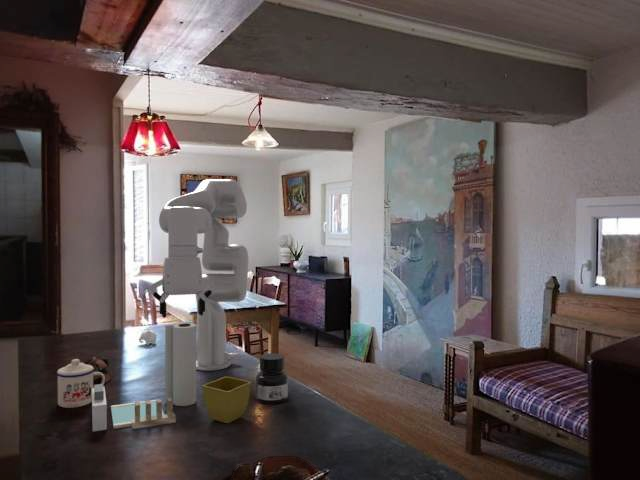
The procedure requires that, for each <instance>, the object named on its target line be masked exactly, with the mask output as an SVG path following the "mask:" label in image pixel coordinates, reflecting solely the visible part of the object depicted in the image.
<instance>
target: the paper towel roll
mask: <svg viewBox="0 0 640 480" xmlns="http://www.w3.org/2000/svg"><path fill="white" fill-rule="evenodd" d="M164 326H165V327H164V329H165V330H164V334H165V335H164V341H165V342H164V345H165V346H164V347H165V349H164V351H165V353H164V354H165V355H164V357H165V359H164V361H165V363H164V364H165V365H164V366H165V367H164V374H165V375H164V377H165V378H164V379H165V382H164V385H165V388H164V389H165V390H164V391H165V392H164V393H165V394H164V395H165V397H164V398H165V399H164V402H165V403H166V404H167V398H172V400H173V406H177V407H189V406H192V405H193V404H195V403H196V402H197V369H196V360H197V324H195V323H190V322H189V323H187V322H186V323H184V322H183V323H175V324H168V325H167V324H166V325H164Z"/></svg>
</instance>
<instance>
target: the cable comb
mask: <svg viewBox="0 0 640 480" xmlns="http://www.w3.org/2000/svg"><path fill="white" fill-rule="evenodd" d="M155 400H156V416H151V402H150V400H145V401H146V417H144V418H140V403H139V402H140V401H136V402H134V403H135V419H131V423H132V426H131V429H132V430H135V429H142V428H149V427H154V426H155V427H156V426H161V425H167V424H168V425H169V424H173V423H175V424H176V420H177V417H176V416H177V415H176V414H175V413H174V412H173V411H174V410H173V406H174V404H173V400H172V398H167V402H166V414H165V413H164V415H162V409H163V402H162V399H161V398H157V399H155Z"/></svg>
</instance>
